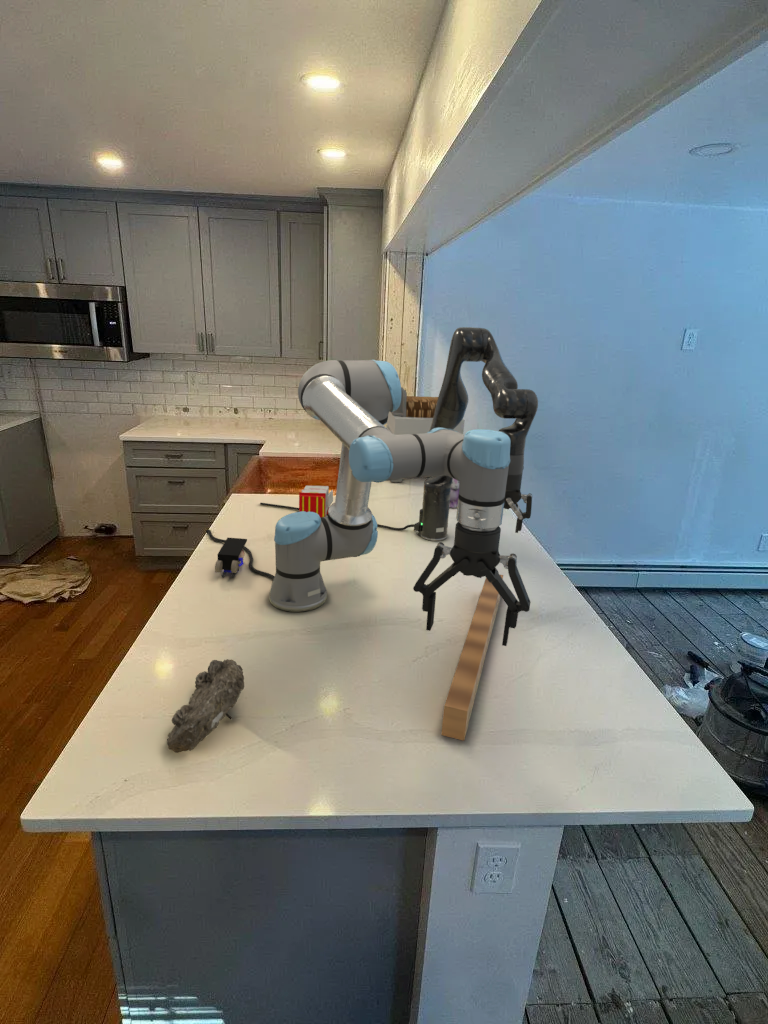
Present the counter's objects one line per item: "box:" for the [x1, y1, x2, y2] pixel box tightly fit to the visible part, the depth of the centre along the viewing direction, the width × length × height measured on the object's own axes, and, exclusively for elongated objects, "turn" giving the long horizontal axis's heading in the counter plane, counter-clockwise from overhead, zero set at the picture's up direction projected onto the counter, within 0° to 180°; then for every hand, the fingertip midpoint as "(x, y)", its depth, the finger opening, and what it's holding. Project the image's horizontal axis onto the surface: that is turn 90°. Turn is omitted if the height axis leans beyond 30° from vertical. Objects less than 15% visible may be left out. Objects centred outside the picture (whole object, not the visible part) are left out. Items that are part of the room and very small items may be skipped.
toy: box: [298, 485, 334, 517], centre depth 210 cm, size 12×13×30 cm
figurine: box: [449, 478, 460, 509], centre depth 230 cm, size 9×10×15 cm
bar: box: [440, 574, 504, 742], centre depth 131 cm, size 60×4×7 cm, turn 163°
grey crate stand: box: [385, 386, 465, 483], centre depth 268 cm, size 34×33×41 cm
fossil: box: [166, 658, 245, 754], centre depth 106 cm, size 22×10×15 cm
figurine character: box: [214, 537, 248, 578], centre depth 166 cm, size 7×8×15 cm
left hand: (466, 634), depth 102 cm, fingers open, 13 cm apart
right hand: (500, 529), depth 148 cm, fingers open, 8 cm apart
